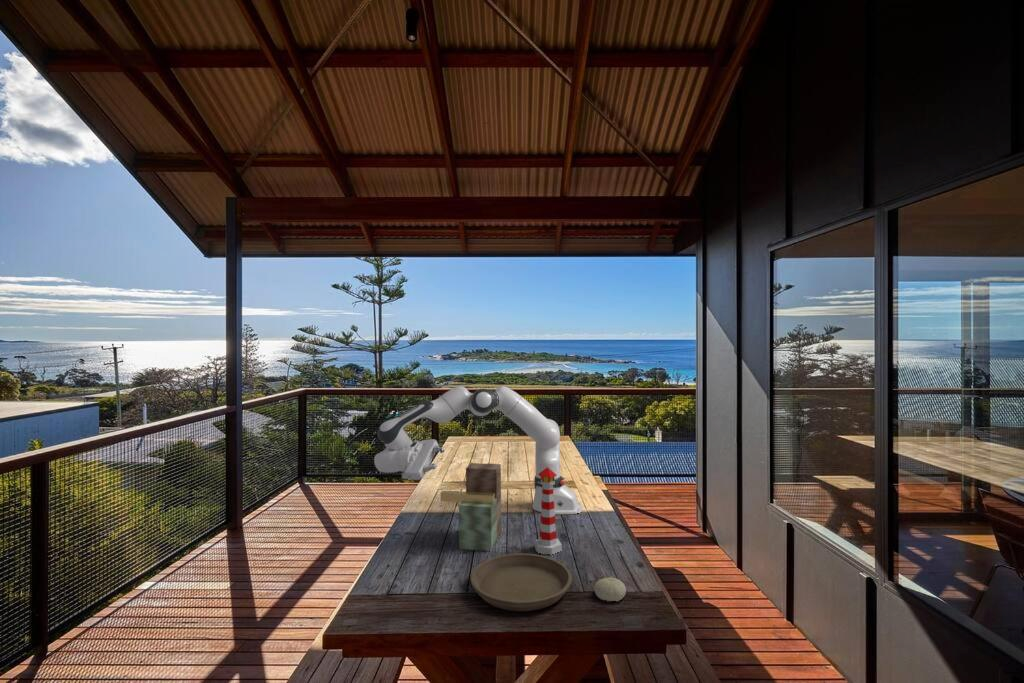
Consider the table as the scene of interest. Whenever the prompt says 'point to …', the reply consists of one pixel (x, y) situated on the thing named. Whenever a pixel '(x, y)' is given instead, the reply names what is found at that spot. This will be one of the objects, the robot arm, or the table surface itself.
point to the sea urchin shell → (610, 589)
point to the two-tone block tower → (481, 508)
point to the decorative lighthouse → (547, 517)
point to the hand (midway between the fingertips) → (439, 457)
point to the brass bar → (468, 497)
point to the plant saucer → (521, 581)
